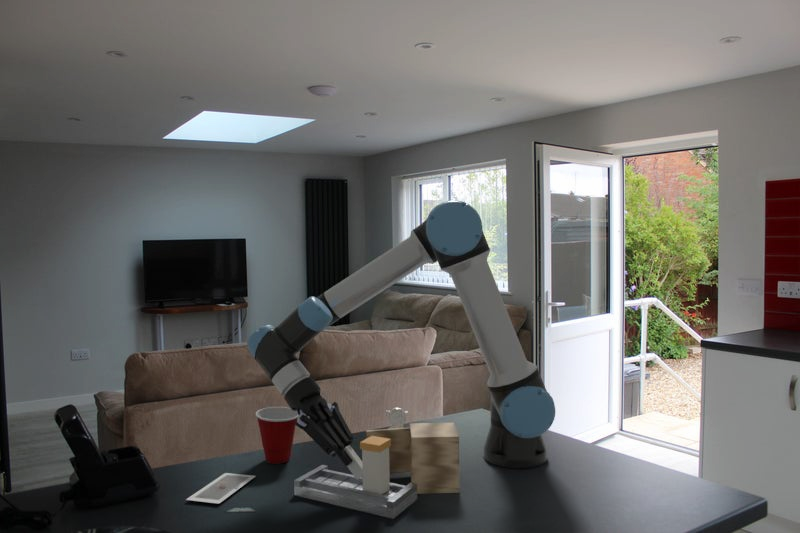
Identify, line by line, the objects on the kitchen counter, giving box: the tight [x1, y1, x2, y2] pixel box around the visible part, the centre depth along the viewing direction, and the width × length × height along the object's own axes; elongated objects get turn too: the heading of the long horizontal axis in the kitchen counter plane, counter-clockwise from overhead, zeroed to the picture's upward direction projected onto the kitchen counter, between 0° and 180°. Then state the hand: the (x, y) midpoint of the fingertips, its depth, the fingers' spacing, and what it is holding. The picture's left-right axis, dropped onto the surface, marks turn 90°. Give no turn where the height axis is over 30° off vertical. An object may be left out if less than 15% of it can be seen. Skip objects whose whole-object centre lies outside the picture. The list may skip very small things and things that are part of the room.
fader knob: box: [359, 436, 391, 495], centre depth 122 cm, size 5×5×10 cm
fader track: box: [293, 464, 418, 520], centre depth 125 cm, size 24×10×3 cm, turn 61°
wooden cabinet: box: [365, 422, 461, 495], centre depth 131 cm, size 20×10×12 cm, turn 91°
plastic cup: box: [255, 406, 299, 465], centre depth 147 cm, size 11×11×12 cm
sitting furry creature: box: [384, 406, 408, 429], centre depth 149 cm, size 10×9×12 cm
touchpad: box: [185, 472, 256, 504], centre depth 129 cm, size 8×15×2 cm, turn 165°
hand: (362, 474), depth 124 cm, fingers closed
